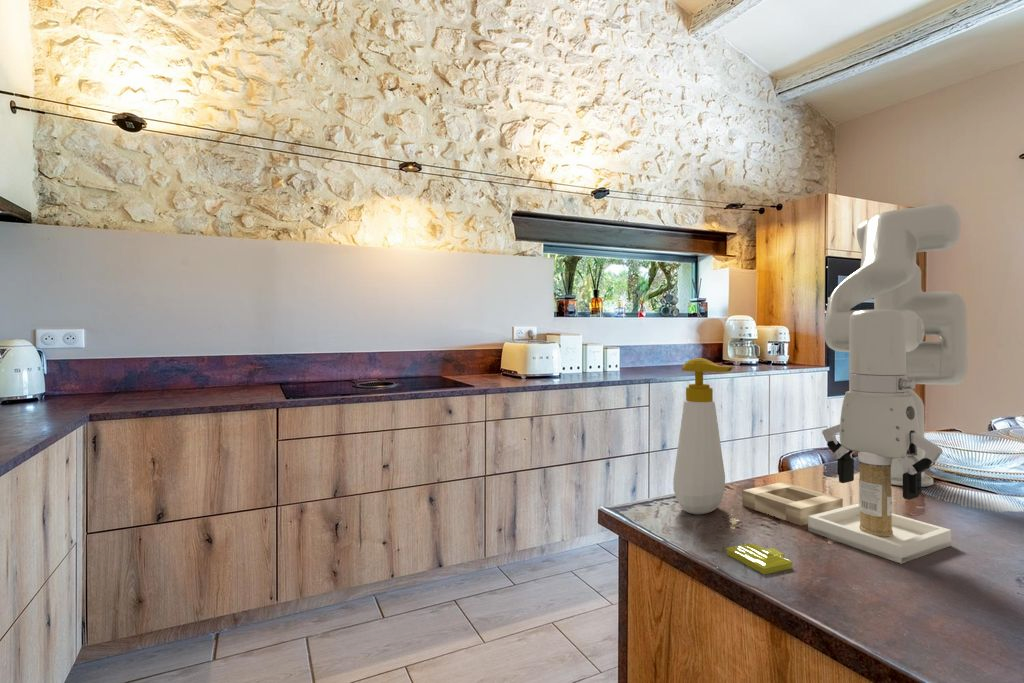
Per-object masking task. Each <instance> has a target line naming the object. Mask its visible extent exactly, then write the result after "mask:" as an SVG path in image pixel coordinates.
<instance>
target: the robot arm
mask: <svg viewBox="0 0 1024 683" xmlns="http://www.w3.org/2000/svg"><path fill="white" fill-rule="evenodd" d="M960 216H961V215H960V213H959V212H958V209H957V208H956V207H955V206H953V205H951V204H945V203H944V204H943V203H940V204H930V205H923V206H916V207H914V206H913V207H907V208H901V209H895V210H894V209H893V210H888V211H884V212H881V213H878V214H876V215H875V216H873V217H872V218H870V219H867V220H864V221H863V222H861V223H860V224H859V225H858V227H857V229H856V239H857V244H858V246H859V249H860V251H861V259H860V268H858V269H857V270H856V271H854V272H853V273H850V275H848V276H847V277H845V279H843V281H841V282H840V283H839V284H838V285H837V286H836V287H835V288H834V290H833V291H832V293H831V294H830V296H829V298H828V302H827V305H826V311H825V317H824V323H823V338H824V341H825V343H826V345H827V347H828V348H829V349H831V350H833V351H834V352H835V351H836V352H839V353H840V352H841V353H842V352H843V353H848V369H849V370H848V373H849V374H848V377H849V378H848V383H849V384H848V388H849V389H848V391H845V394H844V397H843V401H842V405H841V410H840V412H841V413H840V418H839V419H840V420H839V424H837V425H834V426H831V427H829V428H825V429H823V430H822V432H821V434H822V435H823V437H824V440H825V442H826V445H827V447H828V449H829V450H830V451H831V452H832V453H833V457H834V458H835V459H836V460H837V476H838V483H840V484H846V483H850V482H853V481H854V480H855V459H854V458H853V457H851V456H852V455H853V454H854V453H858V452H867V453H872V454H875V455H878V456H881V457H886V458H892V464H891V486H892V485H894V486H899V487H900V486H901V487H902V498H903V499H904V500H912V499H917V498H918V497H919V496H920V494H921V493H922V488H924V487H930V486H933V485H934V478H933V477H932V476H930V475H927V474H926V473H925V472H926V471H927V470H928V469H929V468H931V467H932V466H933V467H934V465H935V464H936V462H937V460H938V459H939V457H940V456H941V455H942V453H943V449H942V448H941V447H940V446H938V445H936V444H935V443H933V442H931V441H930V440H928V439H927V438H925V404H924V402H923V399H922V398H921V397H920V396H919V394H917V393H916V392H915V390H914V389H916V385H931V386H933V385H935V386H936V385H938V386H942V385H943V386H955V385H959V384H961V383H963V382H964V381H965V379H966V377H967V374H968V369H969V368H968V366H969V365H968V363H969V362H968V360H969V359H968V358H969V357H968V356H969V354H968V353H969V352H968V351H969V350H968V348H969V347H968V343H969V342H968V338H969V337H968V309H967V305H966V302H965V299H964V297H963V296H962V295H961V294H960V293H958V292H956V291H955V292H954V291H950V290H949V291H947V290H946V291H945V290H943V291H923V290H922V270H921V268H920V266H919V265H918V264H917V253H923V252H926V253H927V252H934V251H935V252H936V251H938V252H939V251H947V250H952V249H953V248H955V247H956V245H957V244H958V242H959V240H960V237H961V231H962V220H961V217H960ZM872 299H873V304H874V308H873V309H856V310H855V309H853V308H855V307H856V306H857V305H860V304H862V303H864V302H867V301H870V300H872ZM852 309H853V310H852ZM925 336H935V337H937V338H939V340H940V341H939V340H938V341H934V340H932V341H928V340H925V341H924V338H925ZM837 434H839V440H837V436H836V435H837Z"/></svg>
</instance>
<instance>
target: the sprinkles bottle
mask: <svg viewBox="0 0 1024 683" xmlns="http://www.w3.org/2000/svg"><path fill="white" fill-rule="evenodd" d="M857 454H858V455H857V460H858V464H859V478H858V479H859V480H858V481H859V483H858V487H859V488H858V489H859V490H858V492H859V493H858V494H859V495H858V496H859V498H858V499H859V503H858V504H859V507H860V527H859V528H860V530H862V531H863V532H865V533H868V534H871V535H875V536H883V537H887V536H891V535H892V534H893V531H892V513H893V495H892V494H893V493H892V490H893V489H892V484H891V464H892V458H886V457H881V456H878V455H875V454H872V453H867V452H857Z"/></svg>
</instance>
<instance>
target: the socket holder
mask: <svg viewBox="0 0 1024 683" xmlns="http://www.w3.org/2000/svg"><path fill="white" fill-rule="evenodd" d="M741 492H742V495H741V499H742V503H741V505H742V506H743V507H746V508H747V509H751V510H755V511H756V512H760V513H763V514H765V513H766V515H768V514H769V515H768V516H770V517H771V516H772V517H774V516H775V518H776V519H777V518H778V519H779V520H783V521H785V520H786V522H788V521H789V523H791V524H795V525H798V526H802V527H803V526H806V525H808V516H811V515H815V514H819V513H823V512H826V511H830V510H834V509H838V508H842V507H844V506H843V505H844V504H843V502H844V499H843V497H838V496H835V495H830V494H827V493H824V492H821V491H816V490H812V489H809V488H807V487H806V488H805V487H802V486H800V485H795V484H791V483H787V482H784V481H780V482H776V483H771V484H767V485H766V484H765V485H761V486H757V487H755V486H754V487H752V488H746V489H742V491H741Z"/></svg>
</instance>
